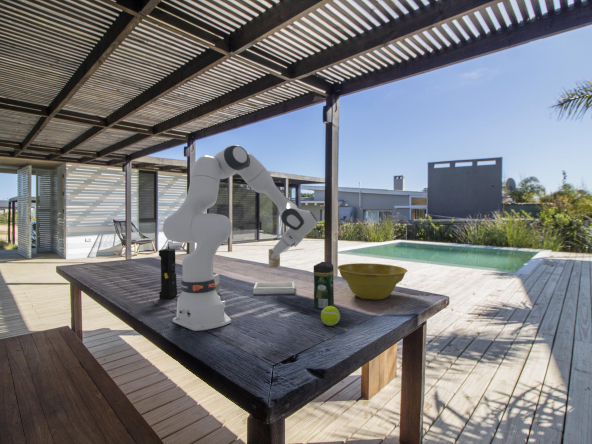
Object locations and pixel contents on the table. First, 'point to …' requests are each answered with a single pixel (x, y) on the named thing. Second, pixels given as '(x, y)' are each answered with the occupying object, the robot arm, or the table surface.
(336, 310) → the tennis ball
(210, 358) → the table surface
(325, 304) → the coffee jar
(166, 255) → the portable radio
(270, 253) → the block
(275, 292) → the tray
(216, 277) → the block
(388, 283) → the planter bowl
